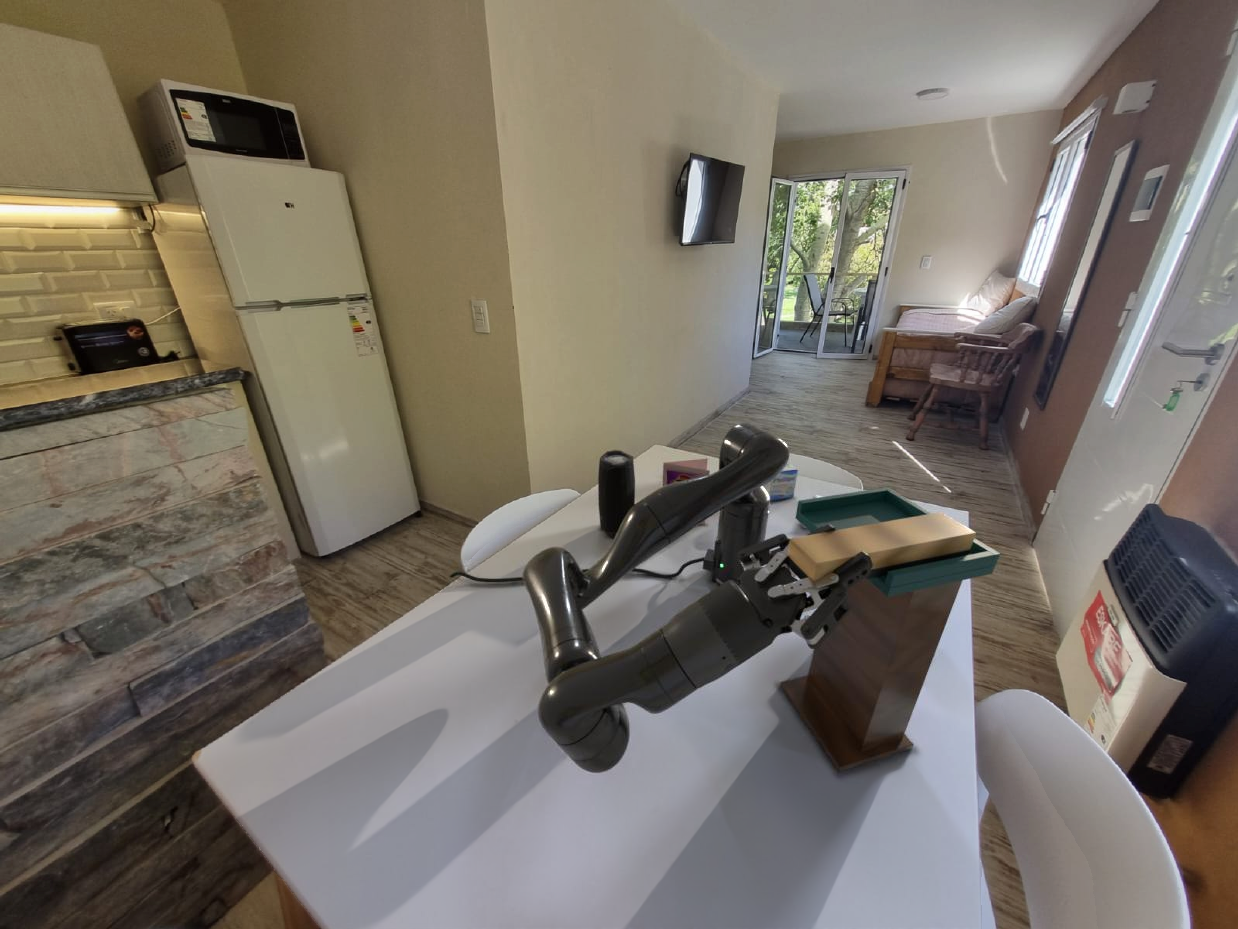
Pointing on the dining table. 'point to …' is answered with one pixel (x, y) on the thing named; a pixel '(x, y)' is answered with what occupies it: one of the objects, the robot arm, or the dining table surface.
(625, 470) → the portable speaker
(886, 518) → the tray
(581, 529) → the dining table surface
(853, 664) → the stand
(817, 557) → the eraser
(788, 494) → the medicine box
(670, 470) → the greeting card
